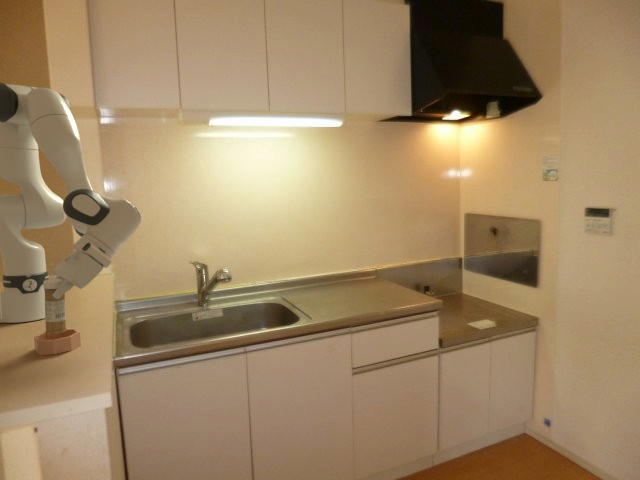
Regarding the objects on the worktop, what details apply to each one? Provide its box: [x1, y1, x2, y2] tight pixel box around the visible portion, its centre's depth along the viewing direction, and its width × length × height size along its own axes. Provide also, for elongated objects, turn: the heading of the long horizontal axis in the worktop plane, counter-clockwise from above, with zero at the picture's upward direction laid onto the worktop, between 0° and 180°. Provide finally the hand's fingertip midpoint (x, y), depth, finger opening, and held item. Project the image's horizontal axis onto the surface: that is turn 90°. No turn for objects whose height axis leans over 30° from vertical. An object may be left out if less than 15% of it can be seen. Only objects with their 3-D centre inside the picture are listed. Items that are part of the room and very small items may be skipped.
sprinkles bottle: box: [43, 278, 67, 335], centre depth 106 cm, size 5×5×13 cm
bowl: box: [33, 328, 82, 356], centre depth 107 cm, size 9×9×4 cm
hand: (51, 295), depth 105 cm, fingers closed on sprinkles bottle, 4 cm apart
